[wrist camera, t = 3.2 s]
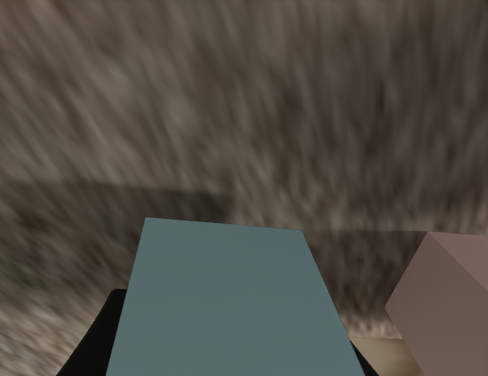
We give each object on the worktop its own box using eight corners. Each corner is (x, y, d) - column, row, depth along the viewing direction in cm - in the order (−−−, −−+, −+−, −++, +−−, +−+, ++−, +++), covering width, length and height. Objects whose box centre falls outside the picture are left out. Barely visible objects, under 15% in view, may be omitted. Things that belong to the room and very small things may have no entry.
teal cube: (301, 230, 11) (395, 443, 6) (267, 328, 13) (311, 541, 8) (145, 217, 10) (85, 460, 5) (140, 325, 12) (95, 565, 7)
